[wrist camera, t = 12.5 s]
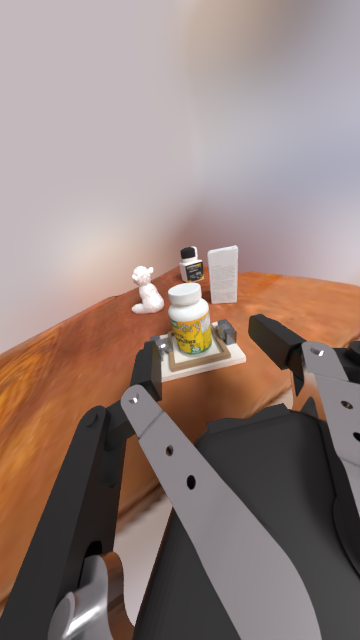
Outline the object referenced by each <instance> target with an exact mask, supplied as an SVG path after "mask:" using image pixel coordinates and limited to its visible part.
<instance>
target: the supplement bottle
mask: <svg viewBox="0 0 360 640" xmlns="http://www.w3.org/2000/svg"><path fill="white" fill-rule="evenodd" d="M168 295H169V299H170V302H171V303H172V304H171V306H170V307H169V311H168V313H169V318H170V321H171V324H172V328H173V331H174V334H175V338H176V341H177V345H178V348H179V350H180V352H181V353H182V354H184V355H186V356H189V357H198V356H202V355H204V354H206V353H207V352H208V351H209V350H210V348H211V346H212V337H211V327H210V317H209V307H208V304H207V302H206V301H205V300H204V299H202V298H201V296H202V293H201V287H200V285H199V284H197V283H185V284H180V285H177V286H175V287H172V288H171V289H170V290H169V291H168Z"/></svg>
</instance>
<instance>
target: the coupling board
mask: <svg viewBox="0 0 360 640" xmlns="http://www.w3.org/2000/svg"><path fill="white" fill-rule="evenodd" d="M217 325H218V323H217V322H215V323H211V321H210V327H211V337H212V346H211V348H210V350H209V351H208V352H207V353H206V354H204V355H202V356H198V357H189V356H186V355H184V354H182V353H181V352H180V350H179V348H178V345H177V341H176V338H175V334H174V331H169V332H168V334H166V335H161V336H160V338H161V339H163V338H168V337H171V340H172V347H173V350H174V352H173V351H172V352H169V353H168V354H164V355H163V361H162V362H161V372H162V382H165V381H170V380H174V379H178V378H182V377H186V376H190V375H194V374H198V373H202V372H206V371H210V370H215V369H219V368H223V367H227V366H231V365H235V364H239V363H243V362H246V356H245V355H244V353H243V352H242V351H241V349H240V348H239V347H238V345H237V344H236V343H235V344H231V345H226V343H225V342H224V340H221V339H220V337H219V335H218V334H217V332H216V329H215V327H216V326H217Z"/></svg>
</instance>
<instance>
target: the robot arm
mask: <svg viewBox="0 0 360 640" xmlns="http://www.w3.org/2000/svg"><path fill="white" fill-rule="evenodd" d="M248 333H249V336H250V338H251V339H252V340H253V341H254V342H255V343H256V344H257V345H258V346H259V347H260V348H261V349H262V350H263V351H264V352H265V353H266V354H267V355H268V356H269V358H270V359H271V360H272V361H273V362H274V363H275V364H276V365H277V366H278V367H279V368H280V369H281V370H285V369H288V368H289V369H290V370H291V373H290V376H291V384H292V392H293V407H292V410H291V409H287V407H286V406H285V405H284V403H282V404H278V405H274V406H270V407H266V408H264V409H262V410H261V411H259V412H258V413H256V414H255V415H254V416H252V417H251V418H249V419H236V418H223V419H220V420H216V421H212V422H208V423H207V426H208V429H206V430H205V431H203V432H202V433H201V434H200V435H199V437H198V438H197V439H196V441H195V442H194V444H192V443H191V442H190V441H189V440H188V438H187V437H186V436H185V435H184V434H183V432H182V431H181V430H180V429H179V428H178V426H177V425H176V424H175V423H174V422H173V420H172V419H171V418H170V417H169V416H168V415H167V413H166V412H165V411H164V410H162V409H161V408H160V407H159V405H158V404H157V401H161V400H162V372H161V355H160V352H159V350H158V347H157V345H156V342H155V341H154V340H152V341H148V342H145V344H144V349H142V350H140V351H139V352H138V354H137V355H136V359H135V364H134V369H133V374H132V379H131V384H130V388H128V389H127V390H126V391H125V392H124V394H123V396H122V398H121V399H120V400H119V401H117V402H116V403H114V404H112V405H111V406H109V407H107V408H104V407H103V406H96V407H93V408H92V409H90V410H89V411H88V412H87V413H86V414H85V415H84V416H83V417H82V419H81V420H80V422H79V424H78V426H77V429H76V431H75V434H74V436H73V439H72V441H71V444H70V446H69V449H68V451H67V454H66V456H65V459H64V461H63V464H62V466H61V469H60V471H59V474H58V476H57V479H56V481H55V484H54V486H53V489H52V491H51V494H50V496H49V499H48V501H47V504H46V506H45V509H44V511H43V514H42V516H41V519H40V521H39V524H38V526H37V529H36V531H35V533H34V536H33V538H32V541H31V543H30V546H29V548H28V551H27V553H26V556H25V558H24V561H23V563H22V566H21V568H20V571H19V573H18V576H17V578H16V581H15V583H14V586H13V588H12V591H11V593H10V596H9V598H8V601H7V603H6V606H5V608H4V611H3V613H2V616H1V618H0V640H360V341H353V342H351V343H350V344H349V346H348V347H347V348H331V347H329V346H328V345H325V344H323V343H320V342H315V341H306V340H305V339H303V338H302V337H300V336H299V335H297V334H296V333H294V332H293V331H291V330H290V329H287V327H285V326H284V325H282V324H281V323H279V322H278V321H276V320H273V319H270V318H267V317H265V316H264V315H262V314H257V315H253V316H250V319H249V329H248ZM135 433H136V434H137V436H138V441H139V444H140V446H141V448H142V450H143V451H144V453H145V455H146V457H147V459H148V461H149V463H150V464H151V466H152V468H153V470H154V472H155V474H156V476H157V477H158V479H159V481H160V483H161V485H162V487H163V489H164V490H165V492H166V494H167V496H168V498H169V500H170V502H171V503H172V505H173V507H172V510H171V513H170V516H169V519H168V523H167V526H166V529H165V532H164V535H163V538H162V541H161V544H160V547H159V551H158V554H157V557H156V560H155V563H154V566H153V569H152V572H151V576H150V579H149V582H148V585H147V588H146V591H145V594H144V597H143V601H142V603H141V607H140V610H139V613H138V617H137V620H136V624H135V627H134V626H133V625H132V623H131V622H130V620H129V618H128V616H127V613H126V609H125V604H124V593H123V592H124V575H123V566H122V562H121V560H120V557H119V556H118V555H117V554H116V553H115V552H113V546H114V538H115V530H116V522H117V513H118V505H119V497H120V489H121V481H122V473H123V465H124V456H125V448H126V440H127V439H128V438H130V437H131V436H132V435H134V434H135Z"/></svg>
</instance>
